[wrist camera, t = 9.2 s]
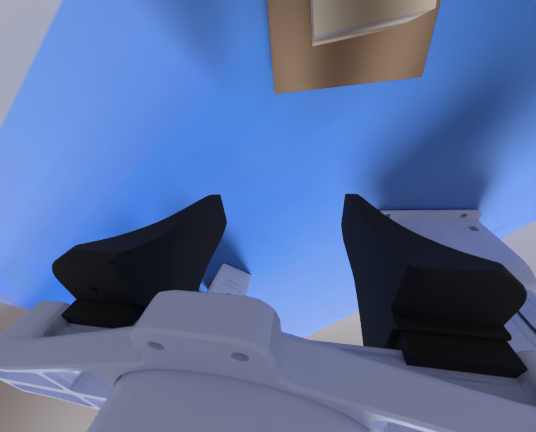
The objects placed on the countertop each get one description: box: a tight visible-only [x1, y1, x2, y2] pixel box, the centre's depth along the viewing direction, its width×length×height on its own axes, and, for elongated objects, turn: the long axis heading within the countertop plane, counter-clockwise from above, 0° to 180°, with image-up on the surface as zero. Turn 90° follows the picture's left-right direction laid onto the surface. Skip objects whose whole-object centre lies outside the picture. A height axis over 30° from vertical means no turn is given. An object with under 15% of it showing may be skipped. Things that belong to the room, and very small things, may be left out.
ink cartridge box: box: [207, 263, 251, 296], centre depth 28 cm, size 9×5×15 cm, turn 153°
